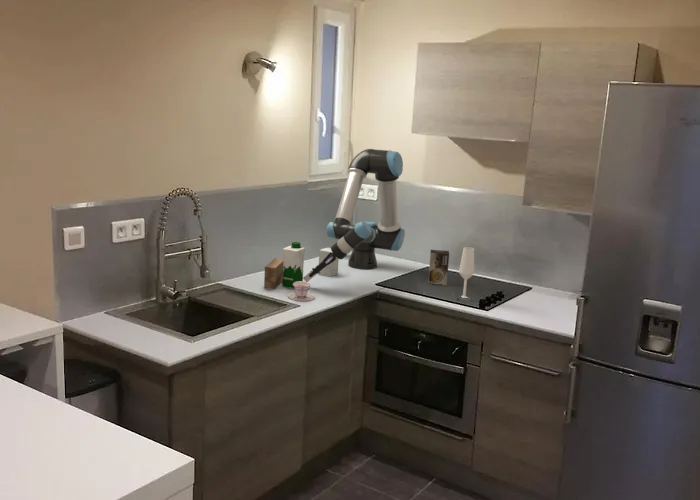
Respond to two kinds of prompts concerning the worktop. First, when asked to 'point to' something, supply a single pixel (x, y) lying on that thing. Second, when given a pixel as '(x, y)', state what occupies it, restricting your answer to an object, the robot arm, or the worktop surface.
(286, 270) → the soya milk
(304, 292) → the teacup
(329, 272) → the supplement box
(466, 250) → the champagne flute
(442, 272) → the coffee box
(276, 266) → the board
